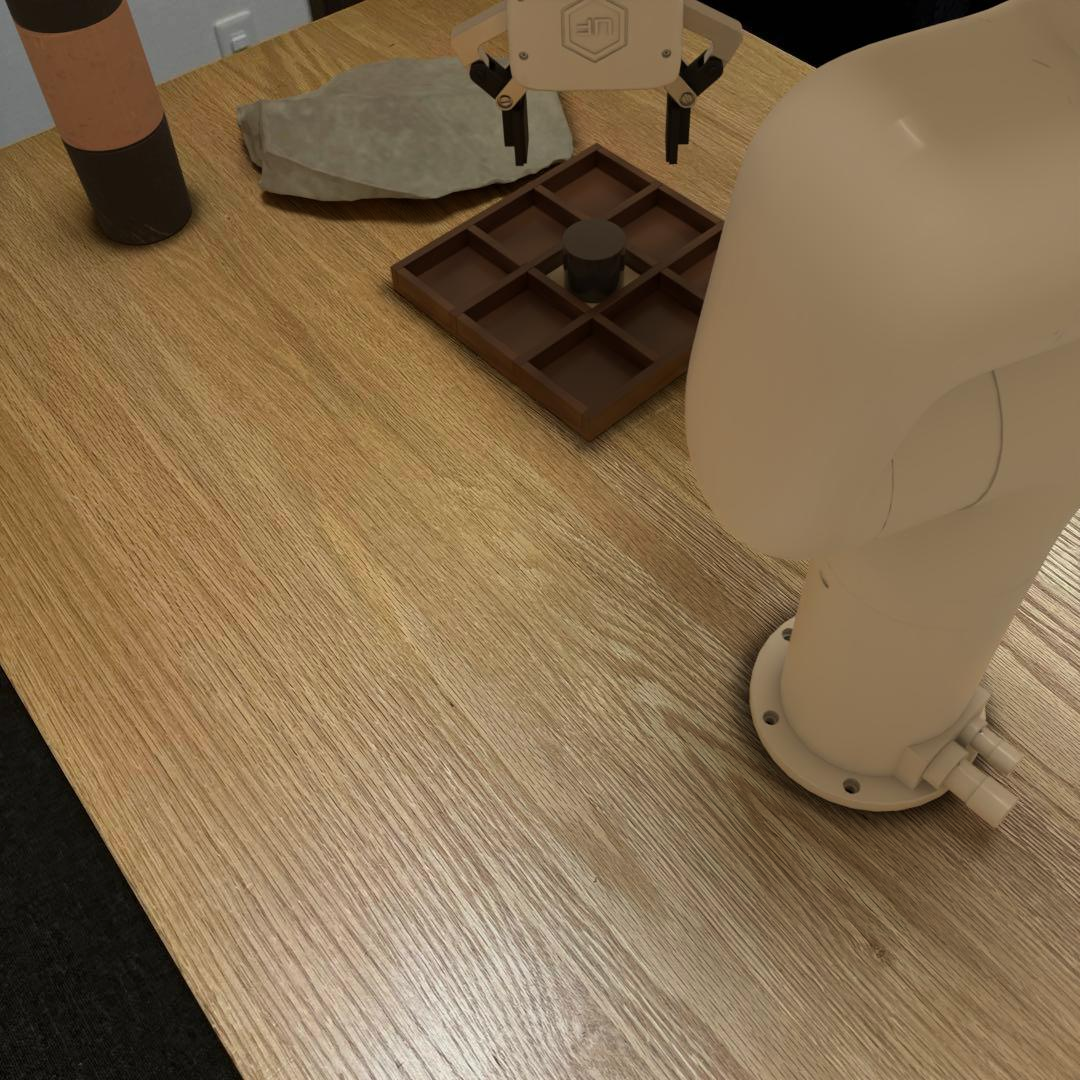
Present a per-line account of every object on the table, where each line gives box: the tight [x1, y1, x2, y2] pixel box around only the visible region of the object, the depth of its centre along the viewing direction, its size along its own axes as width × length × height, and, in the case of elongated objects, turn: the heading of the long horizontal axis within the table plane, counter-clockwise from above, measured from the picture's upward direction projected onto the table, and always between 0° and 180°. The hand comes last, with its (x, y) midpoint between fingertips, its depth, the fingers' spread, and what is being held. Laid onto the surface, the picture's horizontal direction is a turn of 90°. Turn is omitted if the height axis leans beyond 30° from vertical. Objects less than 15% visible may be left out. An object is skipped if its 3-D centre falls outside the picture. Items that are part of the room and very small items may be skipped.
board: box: [389, 142, 725, 442], centre depth 86 cm, size 21×21×2 cm
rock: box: [235, 55, 575, 202], centre depth 96 cm, size 27×6×20 cm
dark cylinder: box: [562, 219, 626, 303], centre depth 85 cm, size 4×4×4 cm
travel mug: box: [4, 0, 192, 245], centre depth 86 cm, size 8×8×20 cm
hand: (596, 152), depth 77 cm, fingers open, 9 cm apart
